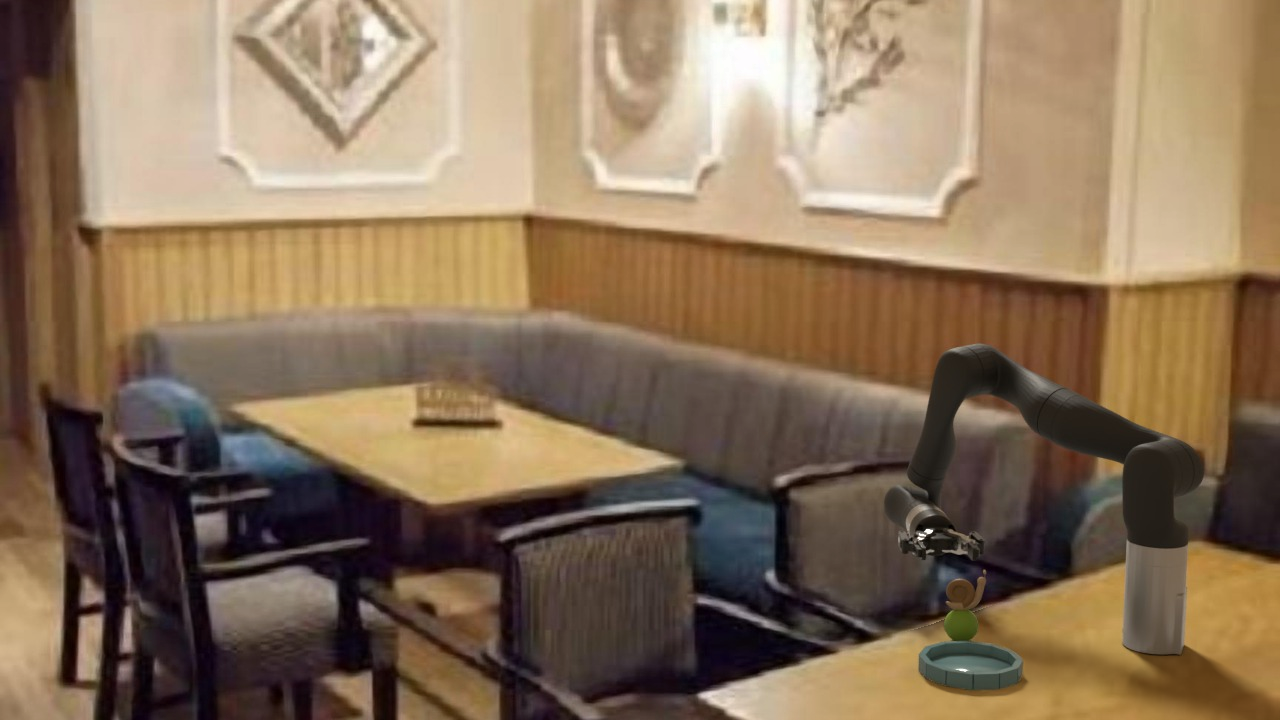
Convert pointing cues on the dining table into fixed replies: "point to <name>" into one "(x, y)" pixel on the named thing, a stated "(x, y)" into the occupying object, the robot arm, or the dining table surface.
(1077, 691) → the dining table surface
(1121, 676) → the dining table surface
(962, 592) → the snail figurine
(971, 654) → the dish
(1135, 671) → the dining table surface
